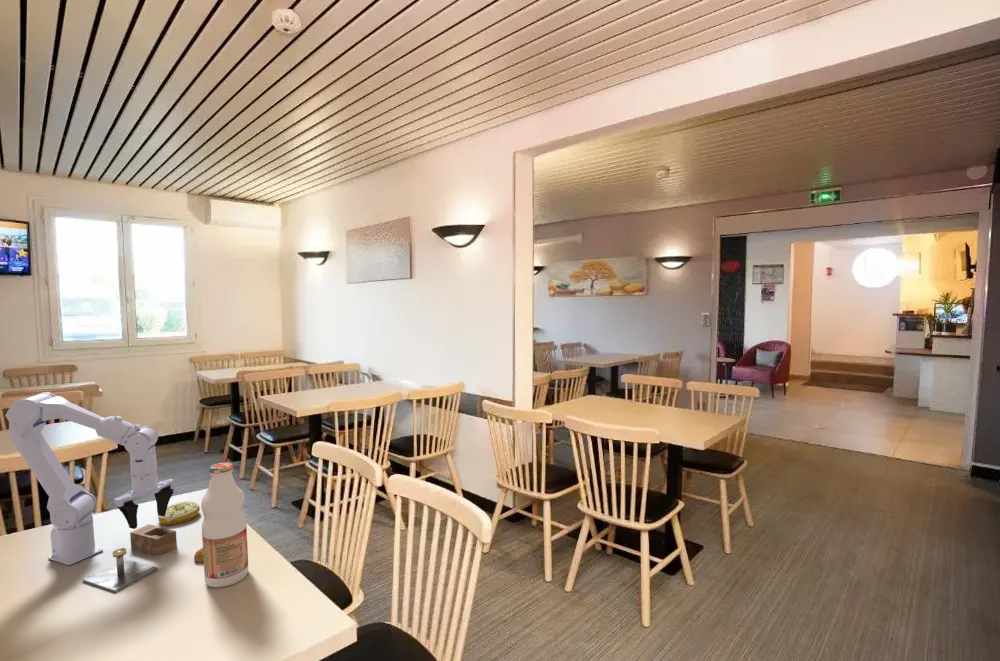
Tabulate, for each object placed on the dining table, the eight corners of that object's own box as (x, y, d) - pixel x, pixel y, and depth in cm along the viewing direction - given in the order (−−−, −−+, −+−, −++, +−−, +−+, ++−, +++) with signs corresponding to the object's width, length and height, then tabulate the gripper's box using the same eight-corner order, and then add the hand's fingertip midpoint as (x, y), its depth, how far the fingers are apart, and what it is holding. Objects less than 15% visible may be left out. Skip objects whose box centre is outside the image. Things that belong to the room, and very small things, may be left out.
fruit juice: (195, 585, 118) (188, 470, 116) (226, 564, 127) (220, 457, 125) (228, 591, 116) (222, 474, 114) (257, 569, 125) (252, 460, 123)
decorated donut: (151, 521, 152) (151, 509, 152) (189, 508, 161) (188, 497, 161) (168, 530, 147) (167, 517, 146) (206, 515, 156) (205, 504, 155)
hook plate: (82, 581, 120) (80, 556, 120) (126, 560, 129) (125, 537, 129) (114, 592, 116) (112, 566, 115) (158, 570, 125) (156, 545, 125)
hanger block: (131, 548, 136) (130, 532, 135) (149, 540, 140) (148, 524, 140) (158, 556, 132) (157, 539, 131) (176, 547, 136) (175, 530, 136)
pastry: (196, 567, 127) (195, 553, 126) (192, 557, 132) (191, 543, 131) (237, 555, 133) (236, 541, 132) (231, 545, 138) (230, 531, 137)
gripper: (125, 484, 127) (129, 536, 128) (180, 465, 140) (183, 512, 141) (107, 481, 129) (111, 531, 131) (163, 462, 143) (166, 508, 144)
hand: (147, 521), depth 136 cm, fingers open, 7 cm apart
